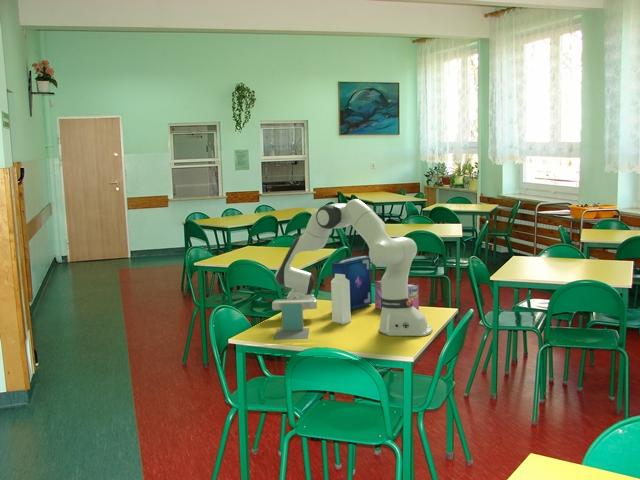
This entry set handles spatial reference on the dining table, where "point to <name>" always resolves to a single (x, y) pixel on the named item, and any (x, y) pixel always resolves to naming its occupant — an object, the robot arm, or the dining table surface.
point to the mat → (291, 334)
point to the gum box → (411, 294)
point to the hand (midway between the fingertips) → (293, 308)
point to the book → (356, 279)
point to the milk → (340, 299)
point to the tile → (292, 316)
